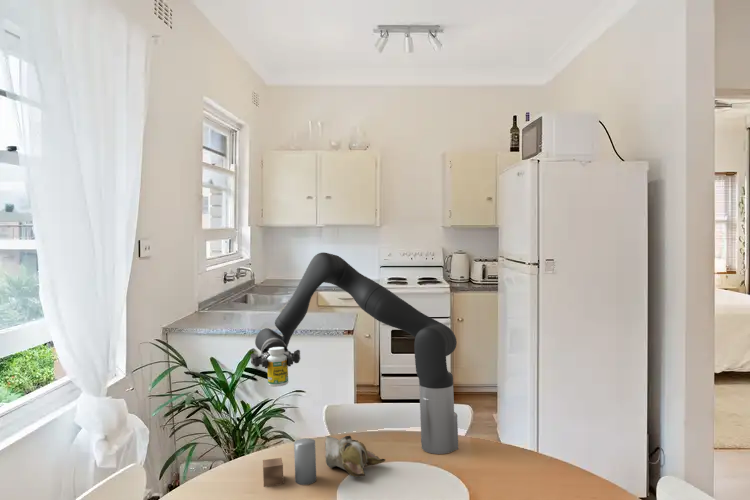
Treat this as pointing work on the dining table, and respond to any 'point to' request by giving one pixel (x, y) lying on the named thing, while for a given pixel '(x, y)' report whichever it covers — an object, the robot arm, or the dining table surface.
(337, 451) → the ceramic sculpture
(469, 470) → the dining table surface
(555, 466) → the dining table surface
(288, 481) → the dining table surface
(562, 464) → the dining table surface
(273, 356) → the supplement bottle
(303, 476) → the light grey cylinder
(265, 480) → the walnut block
